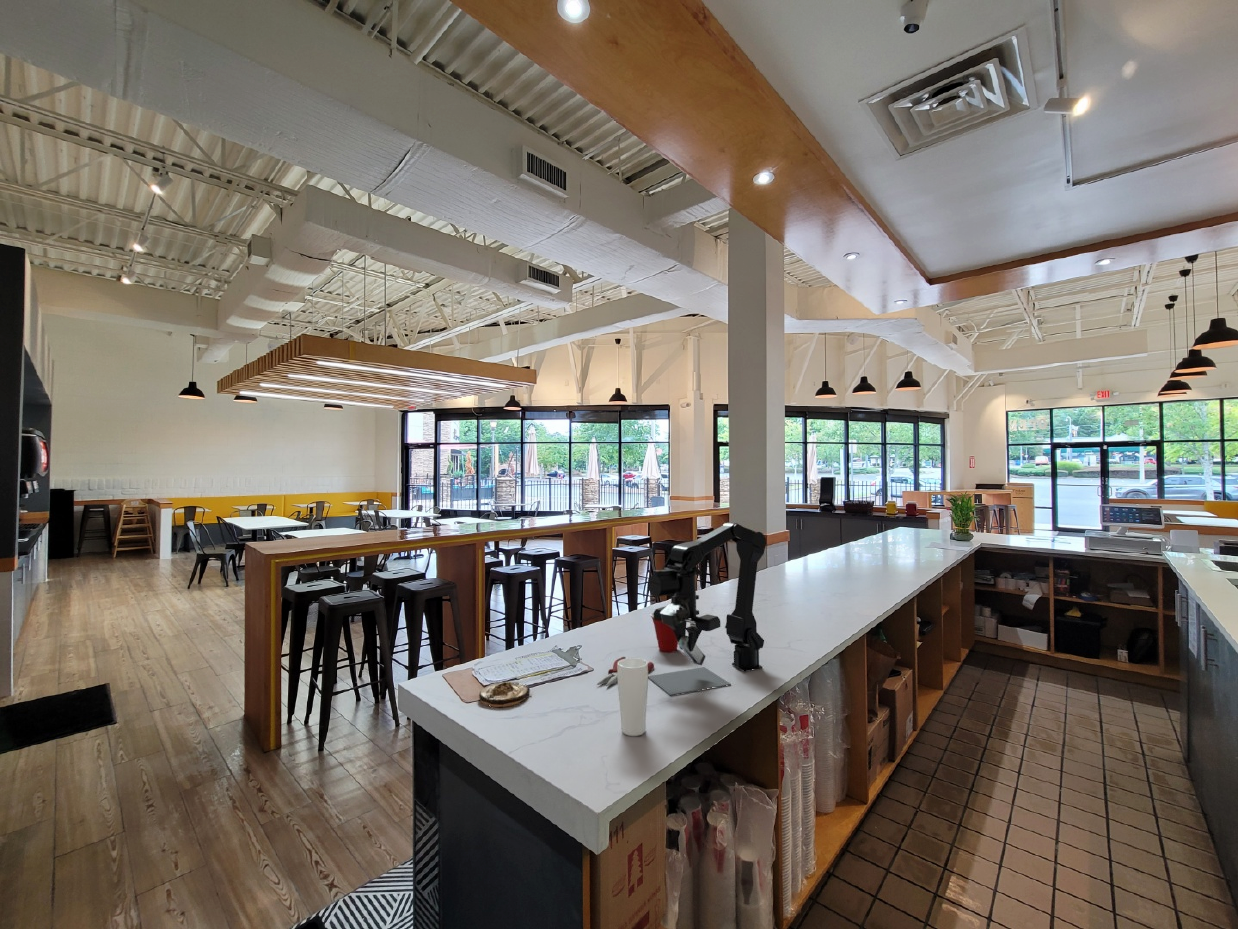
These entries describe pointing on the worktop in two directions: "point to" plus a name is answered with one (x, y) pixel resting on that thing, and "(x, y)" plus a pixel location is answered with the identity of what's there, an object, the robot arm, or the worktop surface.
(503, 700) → the pie
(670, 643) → the plastic cup
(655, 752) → the worktop surface
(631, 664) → the white tumbler
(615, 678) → the pliers
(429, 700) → the worktop surface
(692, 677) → the mat
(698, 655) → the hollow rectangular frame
